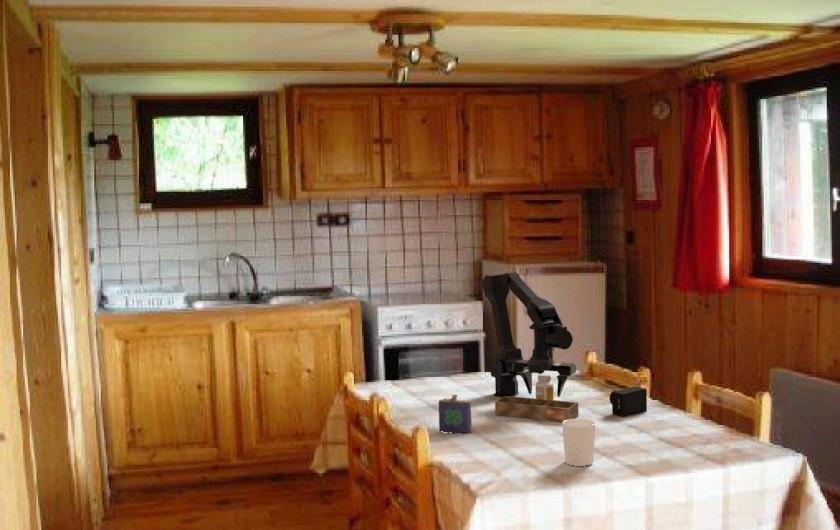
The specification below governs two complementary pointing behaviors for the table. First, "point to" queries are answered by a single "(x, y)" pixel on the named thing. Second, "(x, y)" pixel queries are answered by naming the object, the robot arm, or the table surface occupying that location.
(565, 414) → the bottle rack
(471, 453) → the table surface
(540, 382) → the supplement bottle
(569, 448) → the white cup
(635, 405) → the digital camera
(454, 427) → the flask
